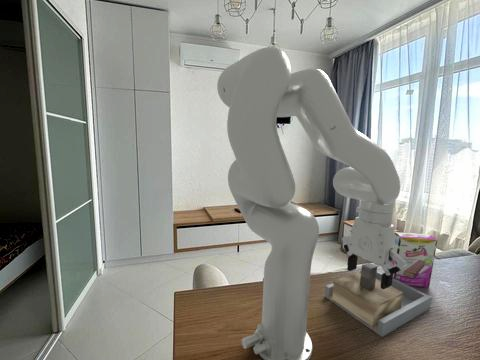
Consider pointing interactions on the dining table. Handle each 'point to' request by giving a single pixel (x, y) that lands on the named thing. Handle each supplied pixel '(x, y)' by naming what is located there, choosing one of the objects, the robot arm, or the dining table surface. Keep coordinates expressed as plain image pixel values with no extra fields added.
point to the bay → (410, 309)
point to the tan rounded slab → (366, 295)
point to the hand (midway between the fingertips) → (367, 278)
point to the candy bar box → (415, 258)
